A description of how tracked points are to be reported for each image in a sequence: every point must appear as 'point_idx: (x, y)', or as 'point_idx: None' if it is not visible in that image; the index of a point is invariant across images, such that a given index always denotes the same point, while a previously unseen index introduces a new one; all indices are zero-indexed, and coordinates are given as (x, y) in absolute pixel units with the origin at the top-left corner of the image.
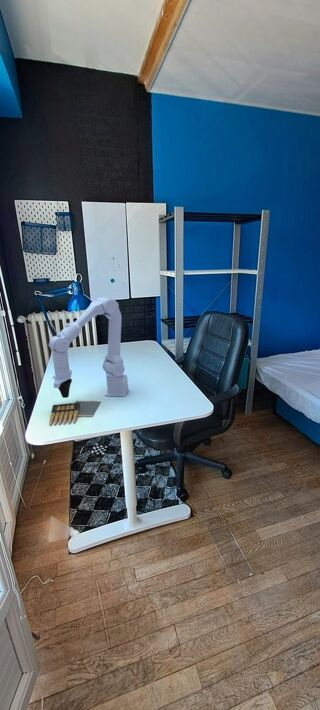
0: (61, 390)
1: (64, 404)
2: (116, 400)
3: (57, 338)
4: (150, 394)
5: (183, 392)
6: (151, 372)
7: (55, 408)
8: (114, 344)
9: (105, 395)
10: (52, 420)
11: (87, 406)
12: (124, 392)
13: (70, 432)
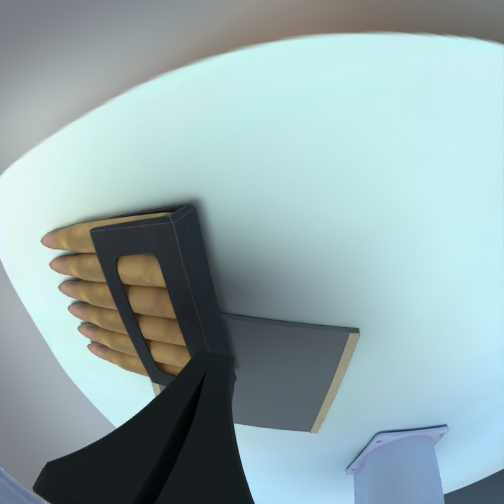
0: (158, 424)
1: (191, 319)
2: (318, 458)
3: None
4: (336, 494)
5: None
6: (488, 462)
7: (130, 254)
8: None
9: (377, 436)
10: (58, 248)
11: (258, 396)
12: (355, 479)
13: (46, 330)
